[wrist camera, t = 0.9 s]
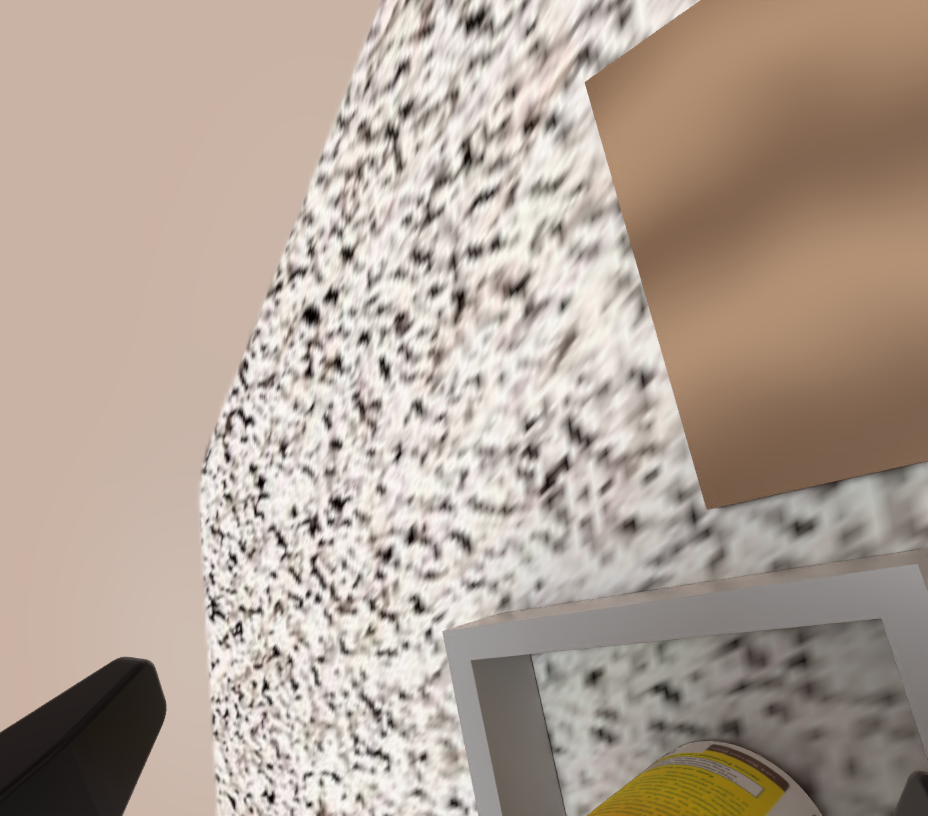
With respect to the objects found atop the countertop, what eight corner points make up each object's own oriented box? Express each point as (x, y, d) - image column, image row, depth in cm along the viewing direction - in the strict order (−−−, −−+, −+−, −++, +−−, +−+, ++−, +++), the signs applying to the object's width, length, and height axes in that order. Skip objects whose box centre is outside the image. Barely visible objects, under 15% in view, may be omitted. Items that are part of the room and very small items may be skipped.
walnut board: (1521, 329, 12) (1545, 324, 11) (718, 507, 20) (706, 509, 20) (1164, -300, 15) (1167, -331, 14) (597, 91, 23) (584, 82, 23)
